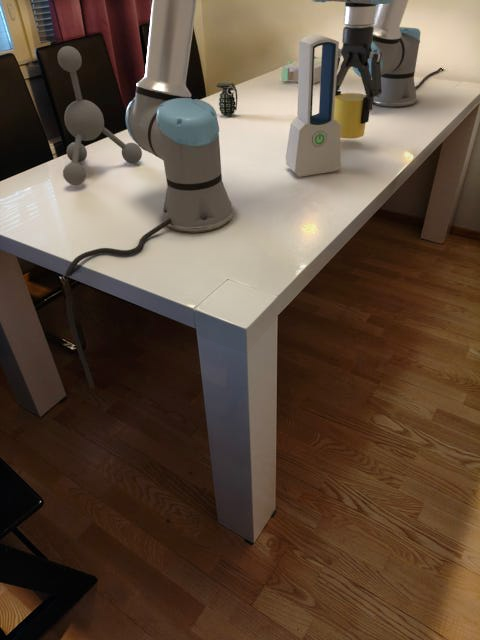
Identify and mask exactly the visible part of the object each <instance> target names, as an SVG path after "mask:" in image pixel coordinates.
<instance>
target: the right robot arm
mask: <svg viewBox="0 0 480 640" xmlns="http://www.w3.org/2000/svg"><path fill="white" fill-rule="evenodd" d="M408 3H409V0H393V1H391V2H390V3H388V4H378V5H376V12H375V21H374V24H372V26H373V28H374V31H373V40H372V44H371V50H372V52H375V53H379V52H381V53H382V57H381V61H380V69H381V88H382V93H381V94H380V95H377V96H375V97H374V101H373V105H376V106H379V107H387V108H403V107H408V106H412V105H414V104H415V103H416V101H417V91H416V90H417V89H418V88H420V87H421V86H422V84H423V83H425V81H426V80H427V79H428V78H429V77H431V76H433V75H435V74H437V73H439V72H444V68H443V67H442V68H443V69H442V68H441V67H439V68H438V69H437V70H435V71H433V72H431V73H429V74H427V75H426V76H425V77H423V79H421V81H420V82H419V83H418V84H417V85H415V74H416V73H415V72H416V68H417V61H418V56H419V55H418V54H419V49H420V44H421V30H420V29H419V28H418V27H417V28H416V27H408V26H407V27H406V26H401V23H402V20H403V17H404V15H405V11H406V8H407V6H408ZM370 59H371V58H369V59H368V64H369V72H370V75H371V79H372V74H371V61H370ZM363 67H364V66H363ZM352 71H353V72H354V73H355V74H356V75H357V76H358V77H360V78H361V74H360V72H359V71H358V68H355V67H352Z"/></svg>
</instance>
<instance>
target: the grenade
mask: <svg viewBox="0 0 480 640" xmlns="http://www.w3.org/2000/svg"><path fill="white" fill-rule="evenodd" d="M215 87H217V88H219V89H221V93H219V97H218V101H219V102H218V106H219V108H218V109H219V112H220V114H221V115H222V116H224V117H231V116H233V115H234V113H235V112H236V111H237V108H238V89H237V87H236V85H235V84H234V83H233V82H218V83H217V84H216V86H215ZM232 91H233V92H232ZM234 94H235V96H234Z"/></svg>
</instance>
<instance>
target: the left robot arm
mask: <svg viewBox="0 0 480 640" xmlns="http://www.w3.org/2000/svg"><path fill="white" fill-rule="evenodd" d="M391 1H393V0H311V2H314V3H326V2H339V3H344V15H343V24H344V27H343V29H342V40H341V43H342V47H341V48H339V49H338V64H337V79H336V94H335V96H336V95H339V94H342V91H341V85H342V84H343V82H344V80H345V78H346V76H347V73H348V72H349V70H350V68H353V67H355V68H358V71H359V72H360V74H361V77H360V78H361V81H362V85H363V88H364V92H365V95H366V97H364V98H363V107H362V116H361V124H364V123H365V124H366V123H368V122H369V119H370V112H371V111H373V108H374V104H373V101H374V97H375V96H377V95H380V94H381V93H382V88H381V69H380V61H381V57H382V53H381V52H379V53H375V52H372V50H371V44H372V40H373V31H374V28H373V26H372V24H374V21H375V12H376V6H377V5H378V4H388V3H390V2H391ZM197 3H198V0H152V1H151V10H150V11H151V12H150V22H149V32H148V40H147V52H146V63H145V73H144V77H143V78H141V79H140V80H139V81H137V82H136V87H135V96H134V97H133V99H132V100H131V101H130V102H129V103H128V105H127V108H126V111H125V126H126V129H127V132H128V135H129V136H130V137H131V139H132V141H134V143H135V144H137V145H138V146H139V147H140V148H141V150H143V151H145V152H147V153H149V154H151V155H154V156H155V157H157V158H159V159H160V160H162V161H163V168H164V173H165V180H166V190H165V191H166V192H165V196H164V203H163V207H162V218H163V222H161V223H160V224H158V225H157V226H156V227H154V228H152V229H151V230H149V231H148V232H146V233H145V234H143V235H142V236H141V237H140V239H139V241H138V244H137V246H136V247H134V248H131V249H117V248H110V247H101V248H96V249H92V250H88V251H85V252H83V253H81V254H79V255H77V256H76V257H75V258H74V259H73V260H72V261H71V262H70V264H69V266H68V267H67V269H66V271H65V273H64V277H66V278H67V277H70V276H71V275H72V274H73V272H74V269H75V268H76V266H77V265H78V264H79V263H80V262H81V261H82V260H84V259H87V258H89V257H92V256H97V255H101V254H113V255H118V256H131V255H134V254H137V253H139V252H140V251H141V250H142V249H143V247H144V245H145V242H146V241H147V240H148V239H149V238H150V237H152V236H153V235H155V234H156V233H158V232H160V231H161V230H163V229H164V228H166V227H168V228H169V229H171V230H173V231H177V232H180V233H190V234H191V233H192V234H193V233H194V234H195V233H196V234H197V233H205V232H206V233H207V232H210V231H215V230H216V229H220V228H222V227H224V226H226V225H227V224H228V223H230V221H231V220H232V218H233V216H234V212H233V211H234V210H233V205H232V201H231V200H230V197H229V195H228V192H227V190H226V187H225V184H224V182H223V175H222V174H223V173H222V161H221V159H222V158H221V147H220V146H221V145H220V126H219V120H218V115H217V111H216V109H215V108H214V106H213V105H212V104H210V103H209V102H207V101H204V100H202V99H198V98H195V99H192V93H191V91H190V90H189V89H188V87H187V76H188V69H189V62H190V55H191V47H192V41H193V33H194V25H195V17H196V11H197ZM341 57H342V59H343V60H342V62H341ZM369 58H371V59H370V61H371V74H372V78H371V75H370V72H369V64H368V59H369ZM340 62H341V64H340ZM363 66H364V67H363ZM339 67H340V68H339ZM65 305H66V312H67V318H68V322H69V327H70V331H71V335H72V338H73V341H74V344H75V348H76V351H77V353H78V356H79V358H80V361H81V364H82V366H83V370H84V372H85V375H86V379H87V381H88V385H89V388H90V389H92V390H93V389H95V386H96V385H95V382H94V379H93V376H92V372H91V371H90V367H89V364H88V362H87V359H86V356H85V353H84V350H83V348H82V344H81V341H80V339H79V338H80V337H79V334H78V330H77V326H76V321H75V318H74V311H73V304H72V299H71V298H69V297H65Z"/></svg>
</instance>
